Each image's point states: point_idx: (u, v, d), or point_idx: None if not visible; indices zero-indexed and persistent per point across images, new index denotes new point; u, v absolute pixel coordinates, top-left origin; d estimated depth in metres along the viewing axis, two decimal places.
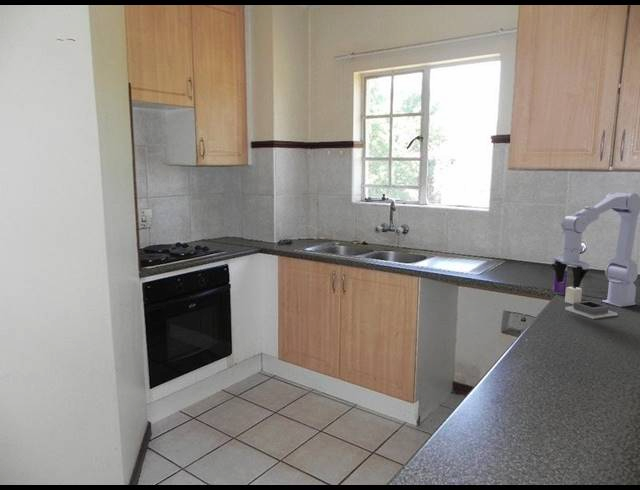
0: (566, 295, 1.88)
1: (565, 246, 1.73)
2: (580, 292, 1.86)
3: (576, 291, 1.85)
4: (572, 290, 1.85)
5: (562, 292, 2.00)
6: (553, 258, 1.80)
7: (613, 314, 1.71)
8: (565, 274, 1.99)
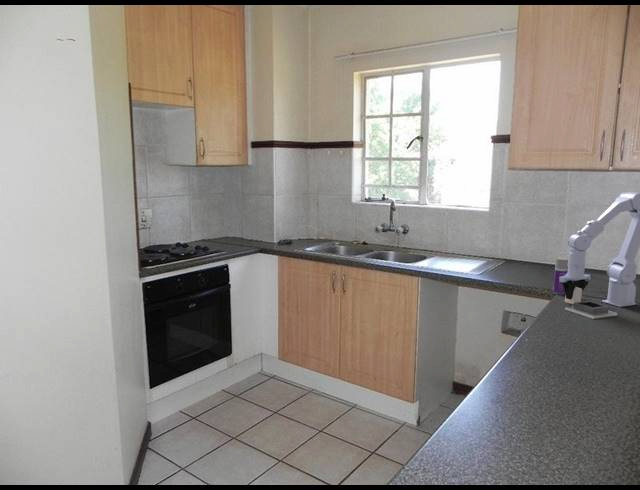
0: None
1: (569, 262, 1.85)
2: (580, 292, 1.85)
3: (576, 291, 1.85)
4: None
5: (562, 292, 2.00)
6: (585, 275, 1.89)
7: (613, 314, 1.71)
8: None
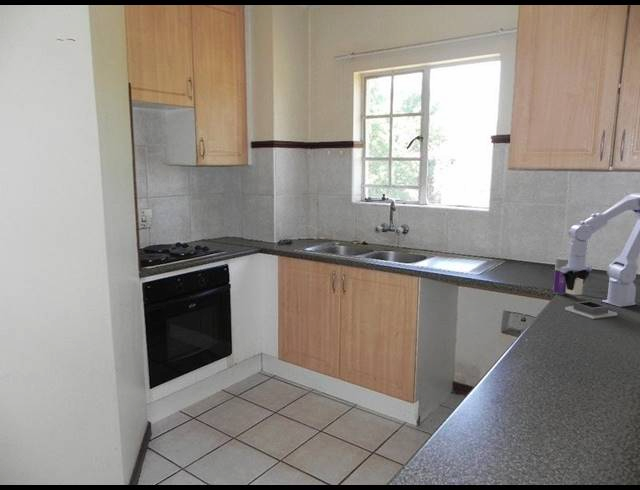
0: None
1: (570, 253, 1.85)
2: (581, 283, 1.85)
3: (577, 282, 1.84)
4: None
5: (562, 292, 2.00)
6: None
7: (613, 314, 1.71)
8: None
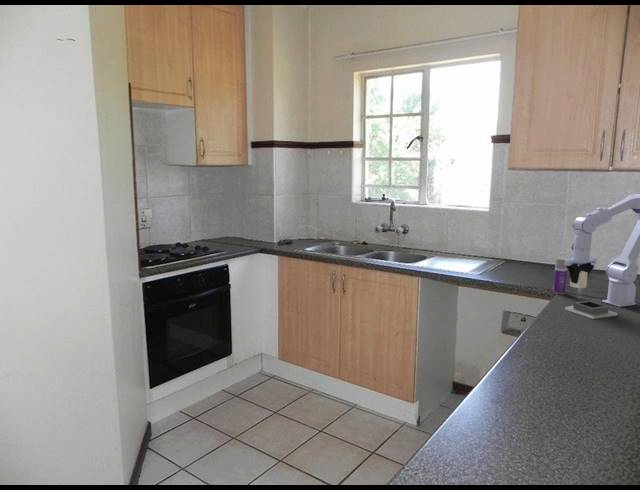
0: None
1: (575, 245, 1.81)
2: (585, 276, 1.82)
3: (581, 275, 1.81)
4: None
5: (562, 292, 2.00)
6: None
7: (613, 314, 1.71)
8: (565, 274, 1.99)
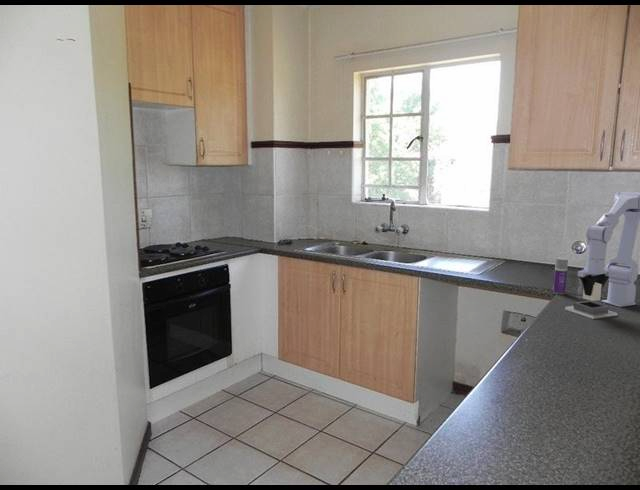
0: None
1: (591, 256, 1.70)
2: (599, 288, 1.72)
3: (595, 286, 1.71)
4: None
5: (562, 292, 2.00)
6: None
7: (613, 314, 1.71)
8: (565, 274, 1.99)
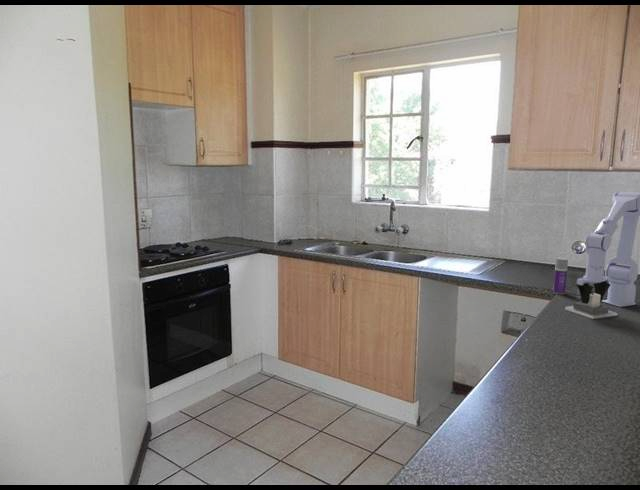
0: None
1: (591, 264, 1.70)
2: (598, 298, 1.73)
3: (594, 297, 1.72)
4: (590, 296, 1.72)
5: (562, 292, 2.00)
6: (604, 277, 1.76)
7: (613, 314, 1.71)
8: (565, 274, 1.99)
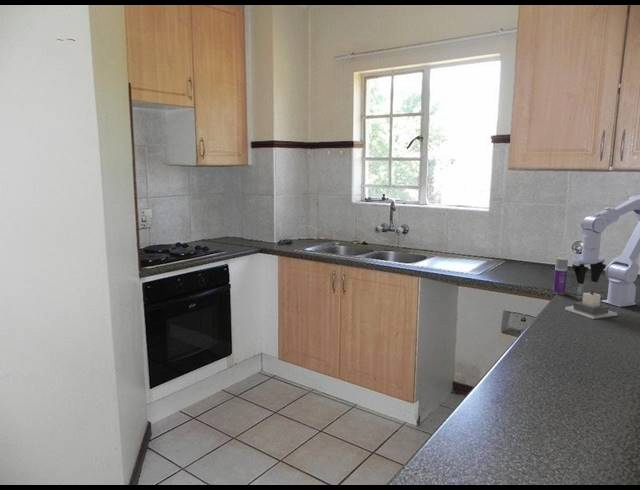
0: (583, 301, 1.75)
1: (584, 245, 1.79)
2: (598, 298, 1.73)
3: (594, 297, 1.72)
4: (590, 296, 1.72)
5: (562, 292, 2.00)
6: None
7: (613, 314, 1.71)
8: (565, 274, 1.99)
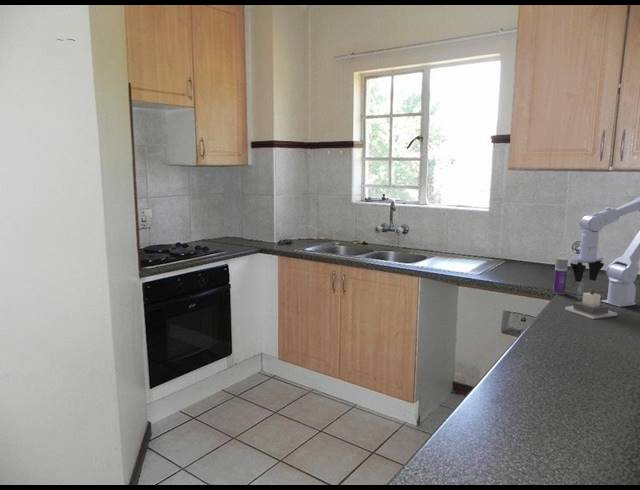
0: (583, 301, 1.75)
1: (582, 244, 1.82)
2: (598, 298, 1.73)
3: (594, 297, 1.72)
4: (590, 296, 1.72)
5: (562, 292, 2.00)
6: (598, 257, 1.86)
7: (613, 314, 1.71)
8: (565, 274, 1.99)
